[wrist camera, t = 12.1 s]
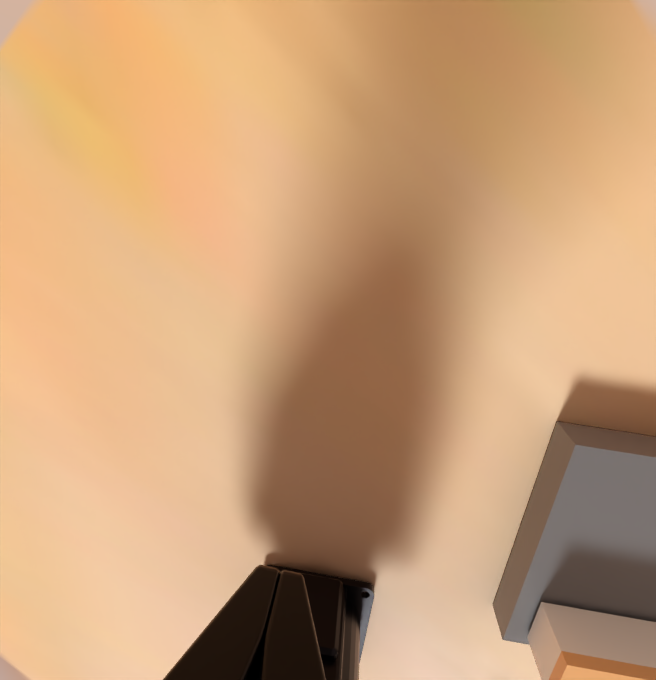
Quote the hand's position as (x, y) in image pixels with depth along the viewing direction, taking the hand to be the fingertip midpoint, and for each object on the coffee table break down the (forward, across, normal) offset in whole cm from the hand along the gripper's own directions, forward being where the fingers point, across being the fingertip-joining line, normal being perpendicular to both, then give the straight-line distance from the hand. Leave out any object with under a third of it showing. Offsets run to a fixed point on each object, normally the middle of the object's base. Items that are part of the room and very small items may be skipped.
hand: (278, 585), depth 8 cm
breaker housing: (+13, -17, +7) cm, 23 cm away
